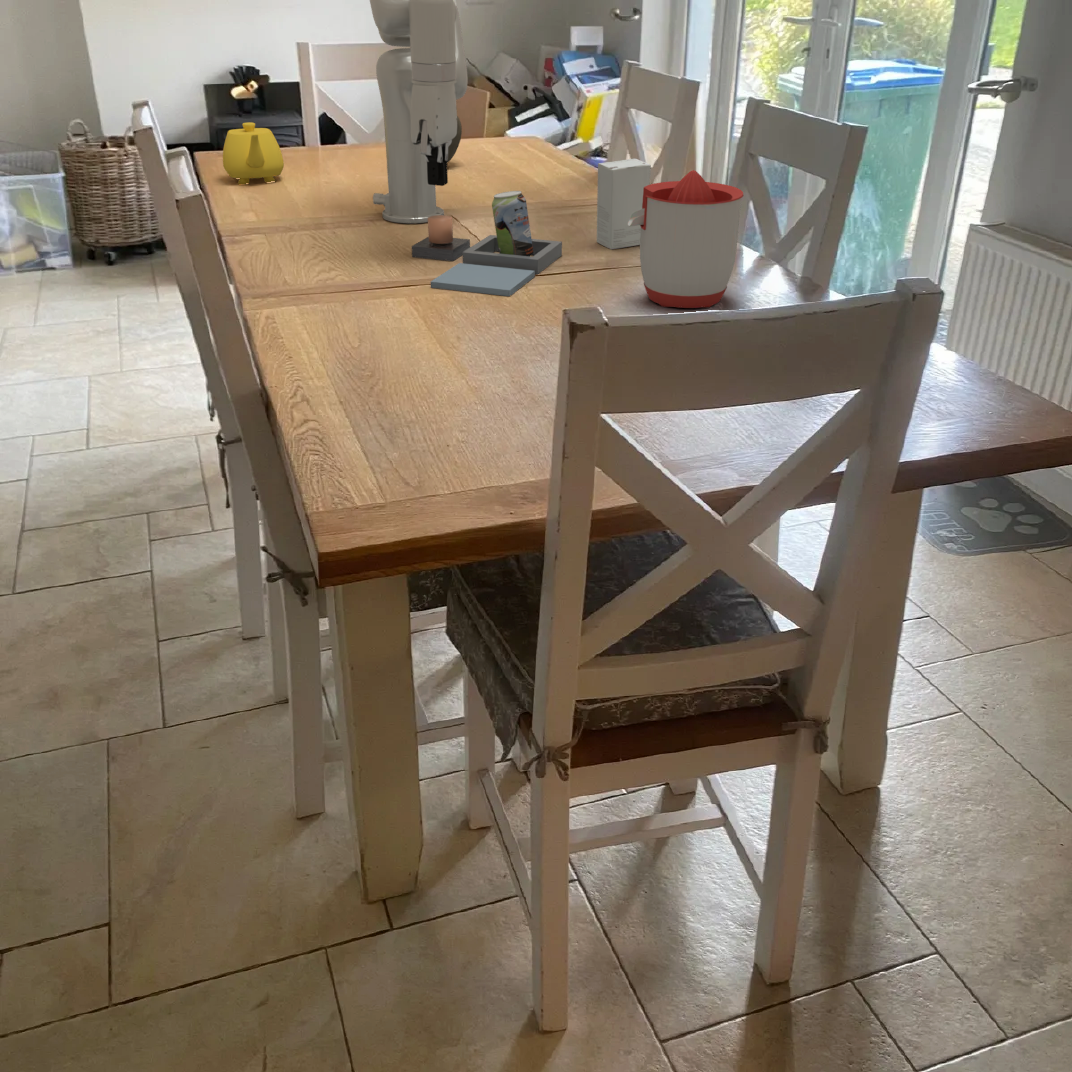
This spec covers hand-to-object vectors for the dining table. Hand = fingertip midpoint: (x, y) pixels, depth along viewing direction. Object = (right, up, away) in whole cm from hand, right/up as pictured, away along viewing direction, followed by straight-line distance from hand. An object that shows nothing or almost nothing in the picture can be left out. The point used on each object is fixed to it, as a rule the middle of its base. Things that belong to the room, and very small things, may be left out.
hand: (437, 184), depth 190 cm
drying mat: (+9, -20, -10) cm, 24 cm away
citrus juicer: (+40, -25, -18) cm, 51 cm away
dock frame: (+13, -13, +1) cm, 19 cm away
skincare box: (+34, -8, +12) cm, 36 cm away
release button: (0, -9, +4) cm, 10 cm away
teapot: (-48, +20, +61) cm, 80 cm away
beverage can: (+13, -14, +1) cm, 19 cm away
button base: (0, -11, +5) cm, 12 cm away
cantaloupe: (-8, +29, +76) cm, 82 cm away
